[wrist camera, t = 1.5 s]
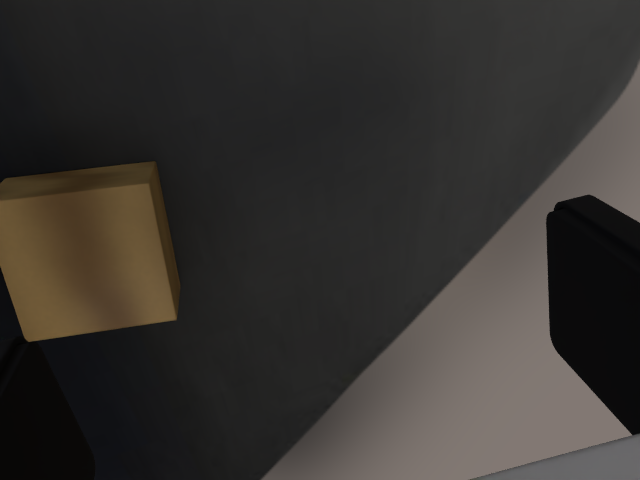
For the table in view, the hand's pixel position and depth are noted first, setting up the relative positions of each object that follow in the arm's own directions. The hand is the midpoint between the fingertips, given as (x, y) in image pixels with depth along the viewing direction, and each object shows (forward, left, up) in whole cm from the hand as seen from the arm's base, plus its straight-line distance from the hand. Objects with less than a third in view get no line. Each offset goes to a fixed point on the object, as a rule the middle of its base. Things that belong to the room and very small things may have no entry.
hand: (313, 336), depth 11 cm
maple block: (-9, -7, -24) cm, 26 cm away
